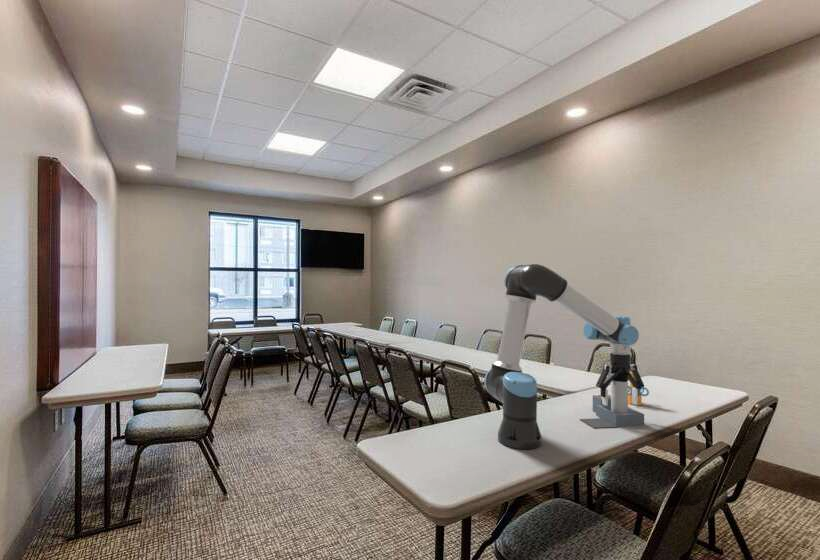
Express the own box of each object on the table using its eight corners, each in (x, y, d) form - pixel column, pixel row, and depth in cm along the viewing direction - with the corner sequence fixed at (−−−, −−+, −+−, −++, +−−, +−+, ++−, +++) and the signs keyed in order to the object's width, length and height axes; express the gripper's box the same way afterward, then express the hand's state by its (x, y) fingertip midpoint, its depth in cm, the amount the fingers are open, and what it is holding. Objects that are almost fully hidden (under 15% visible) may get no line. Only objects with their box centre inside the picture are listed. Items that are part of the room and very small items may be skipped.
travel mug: (628, 424, 161) (628, 374, 162) (610, 421, 165) (610, 372, 166) (629, 419, 167) (629, 371, 167) (611, 417, 170) (611, 370, 171)
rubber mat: (593, 428, 156) (593, 427, 156) (579, 419, 166) (579, 418, 166) (617, 427, 158) (617, 426, 158) (601, 419, 167) (601, 418, 167)
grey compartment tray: (615, 426, 159) (615, 408, 159) (588, 411, 178) (588, 395, 178) (644, 425, 161) (644, 407, 161) (613, 410, 180) (613, 394, 180)
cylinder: (651, 408, 183) (651, 375, 184) (626, 406, 185) (627, 374, 186) (641, 400, 195) (641, 370, 195) (618, 399, 197) (618, 369, 198)
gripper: (598, 355, 161) (597, 407, 161) (654, 354, 164) (653, 406, 164) (587, 352, 168) (587, 402, 168) (641, 351, 172) (640, 400, 171)
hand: (620, 404), depth 166 cm, fingers open, 13 cm apart
